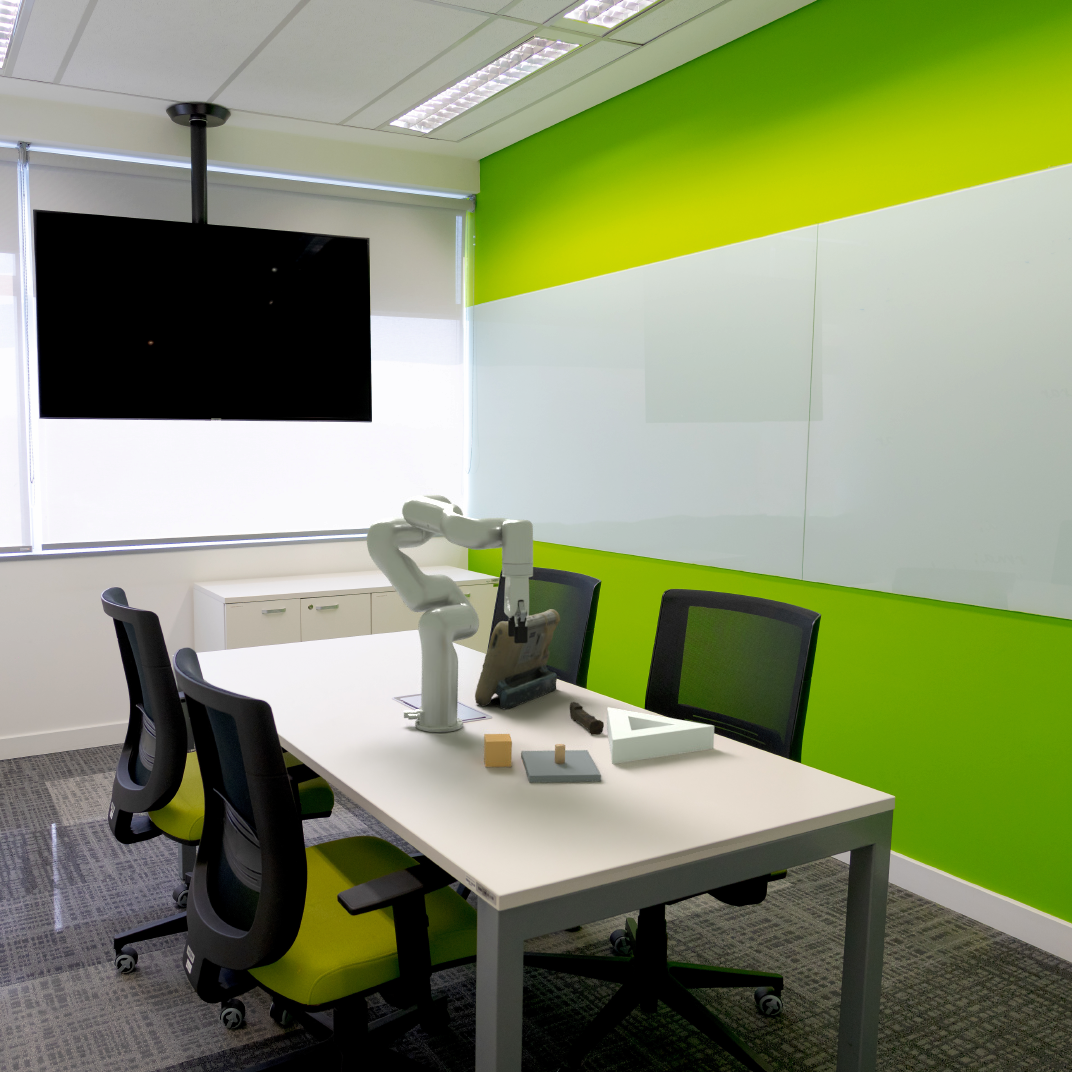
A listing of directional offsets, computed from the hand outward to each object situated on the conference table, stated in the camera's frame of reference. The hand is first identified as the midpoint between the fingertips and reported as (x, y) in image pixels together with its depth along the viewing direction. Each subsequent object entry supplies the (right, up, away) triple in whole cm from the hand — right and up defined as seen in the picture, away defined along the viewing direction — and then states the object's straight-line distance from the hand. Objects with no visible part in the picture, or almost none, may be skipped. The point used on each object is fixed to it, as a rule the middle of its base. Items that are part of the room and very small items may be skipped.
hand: (517, 639), depth 241 cm
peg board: (+10, -28, -15) cm, 33 cm away
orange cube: (-5, -28, -11) cm, 30 cm away
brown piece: (+17, -26, +22) cm, 38 cm away
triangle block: (+36, -28, +4) cm, 46 cm away
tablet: (-1, -23, +51) cm, 56 cm away
